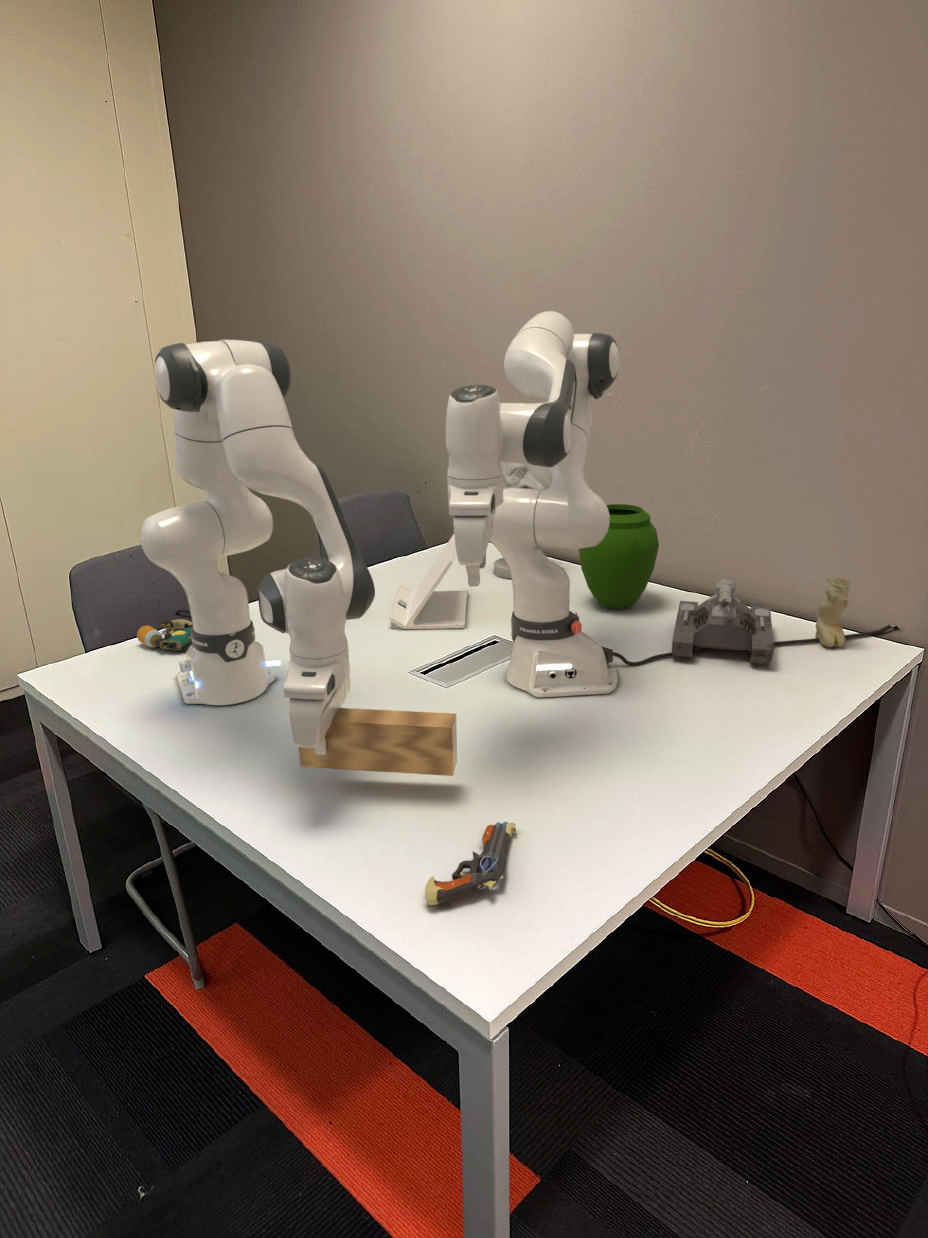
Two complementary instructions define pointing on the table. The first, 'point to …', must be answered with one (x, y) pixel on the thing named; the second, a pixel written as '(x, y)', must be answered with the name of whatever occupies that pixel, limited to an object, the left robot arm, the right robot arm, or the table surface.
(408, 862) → the table surface
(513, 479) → the bust sculpture
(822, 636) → the sculpture
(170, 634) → the spray gun
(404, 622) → the tablet stand
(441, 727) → the bar
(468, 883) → the toy gun
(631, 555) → the vase
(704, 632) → the toy
